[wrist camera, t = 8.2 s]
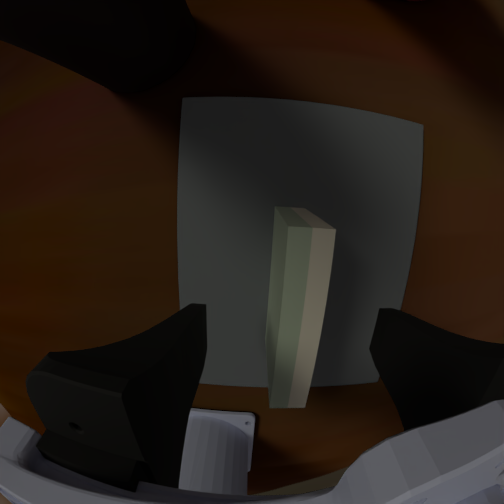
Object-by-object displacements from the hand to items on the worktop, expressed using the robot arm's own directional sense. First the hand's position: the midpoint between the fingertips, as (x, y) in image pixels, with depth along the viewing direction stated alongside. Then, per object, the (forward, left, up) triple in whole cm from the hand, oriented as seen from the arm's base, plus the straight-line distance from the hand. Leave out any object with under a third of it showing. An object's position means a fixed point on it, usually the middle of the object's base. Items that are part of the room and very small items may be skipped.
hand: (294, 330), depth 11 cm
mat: (+1, -1, -6) cm, 6 cm away
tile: (0, 0, -5) cm, 5 cm away
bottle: (+14, +9, -6) cm, 18 cm away
